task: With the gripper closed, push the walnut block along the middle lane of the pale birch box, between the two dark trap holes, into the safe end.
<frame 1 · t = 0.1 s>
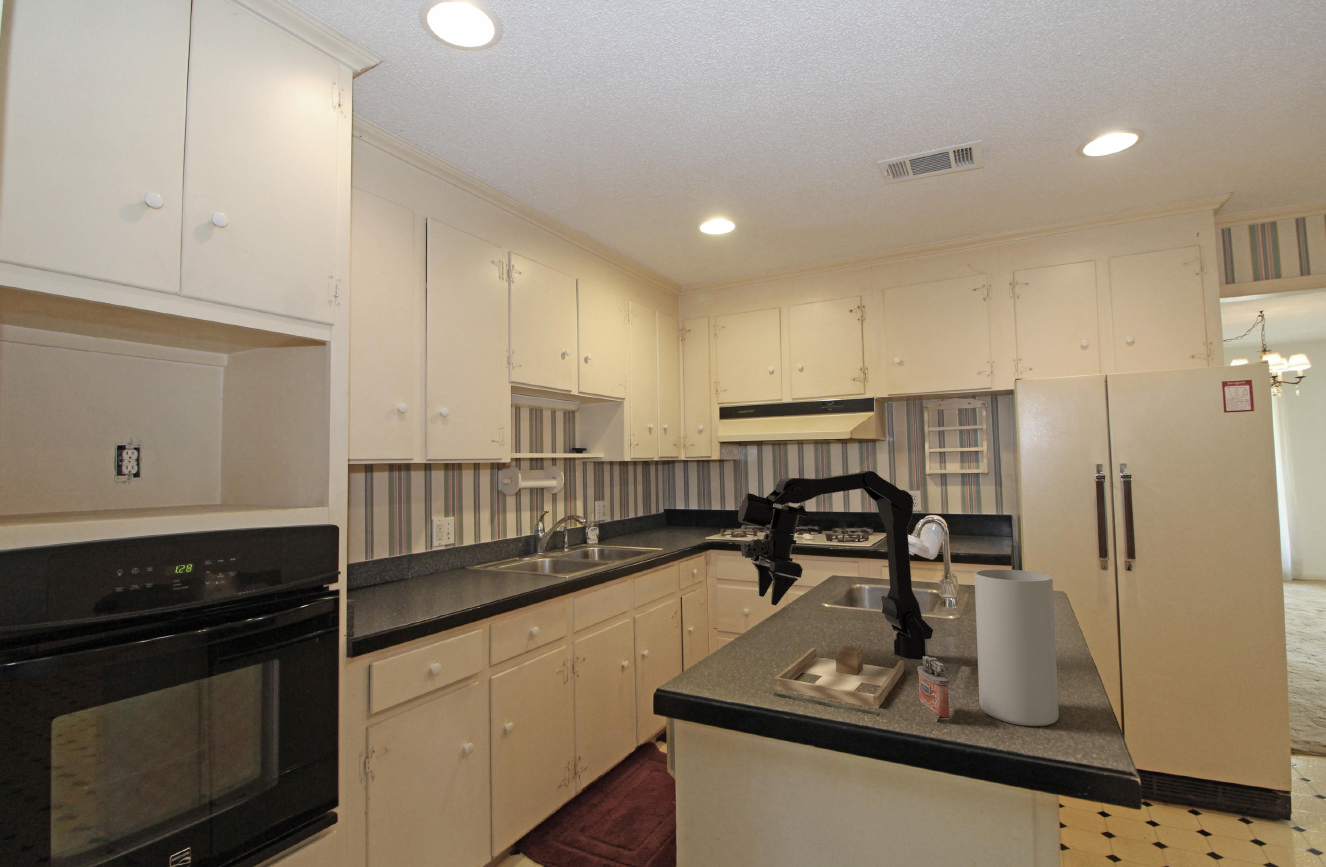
hand: (767, 600, 139), 15 cm above the table, tool pointing down, fingers open, 9 cm apart
lighter: (934, 715, 113), on the table
block: (849, 670, 133), point 1 cm above the table, touching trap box
cylinder vase: (1018, 714, 113), on the table
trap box: (841, 686, 128), on the table
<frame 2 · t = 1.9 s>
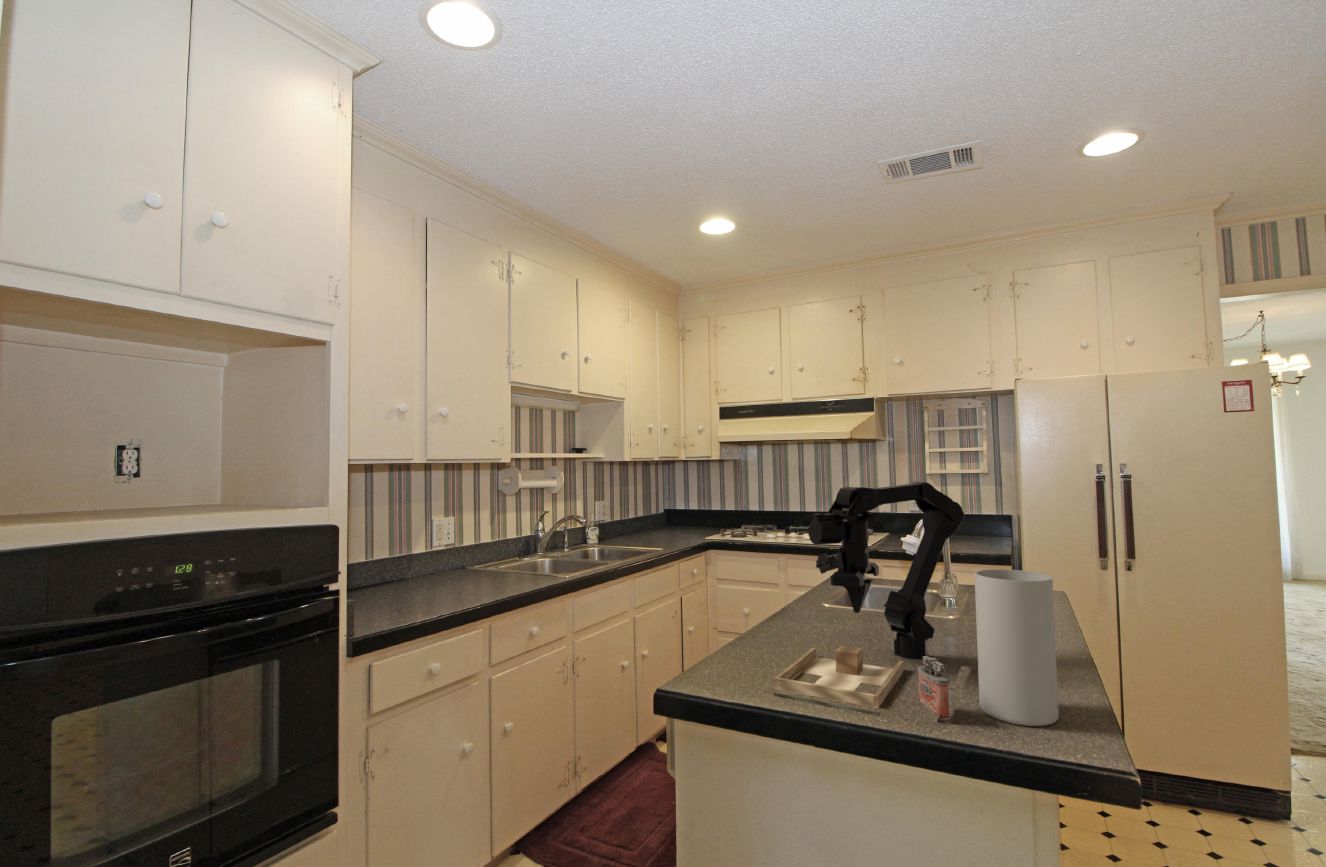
hand: (856, 612, 140), 12 cm above the table, tool pointing down, fingers closed
nothing on the table moved.
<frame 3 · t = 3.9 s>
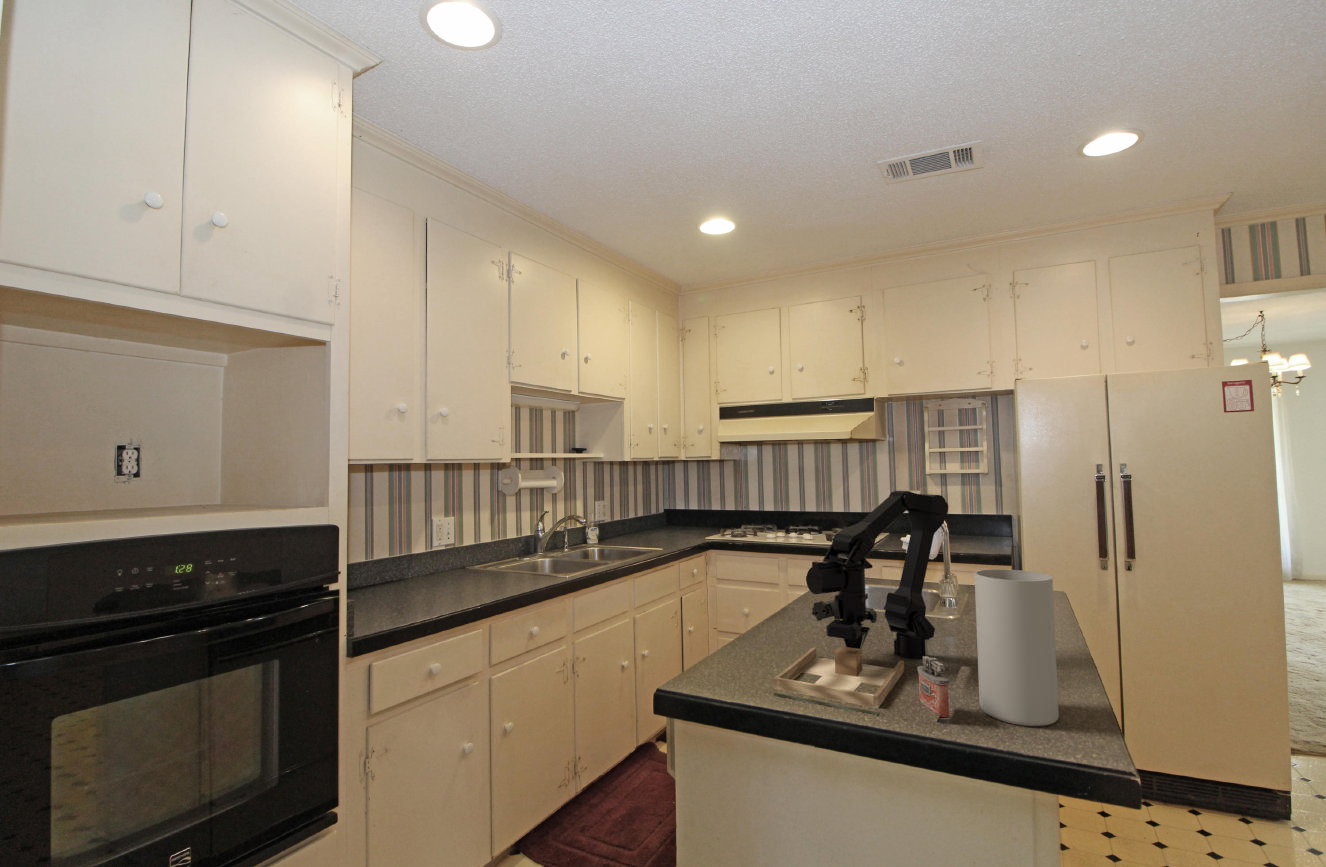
hand: (853, 661, 136), 2 cm above the table, tool pointing down, fingers closed
block: (848, 671, 132), point 2 cm above the table, touching gripper
everything else where it was.
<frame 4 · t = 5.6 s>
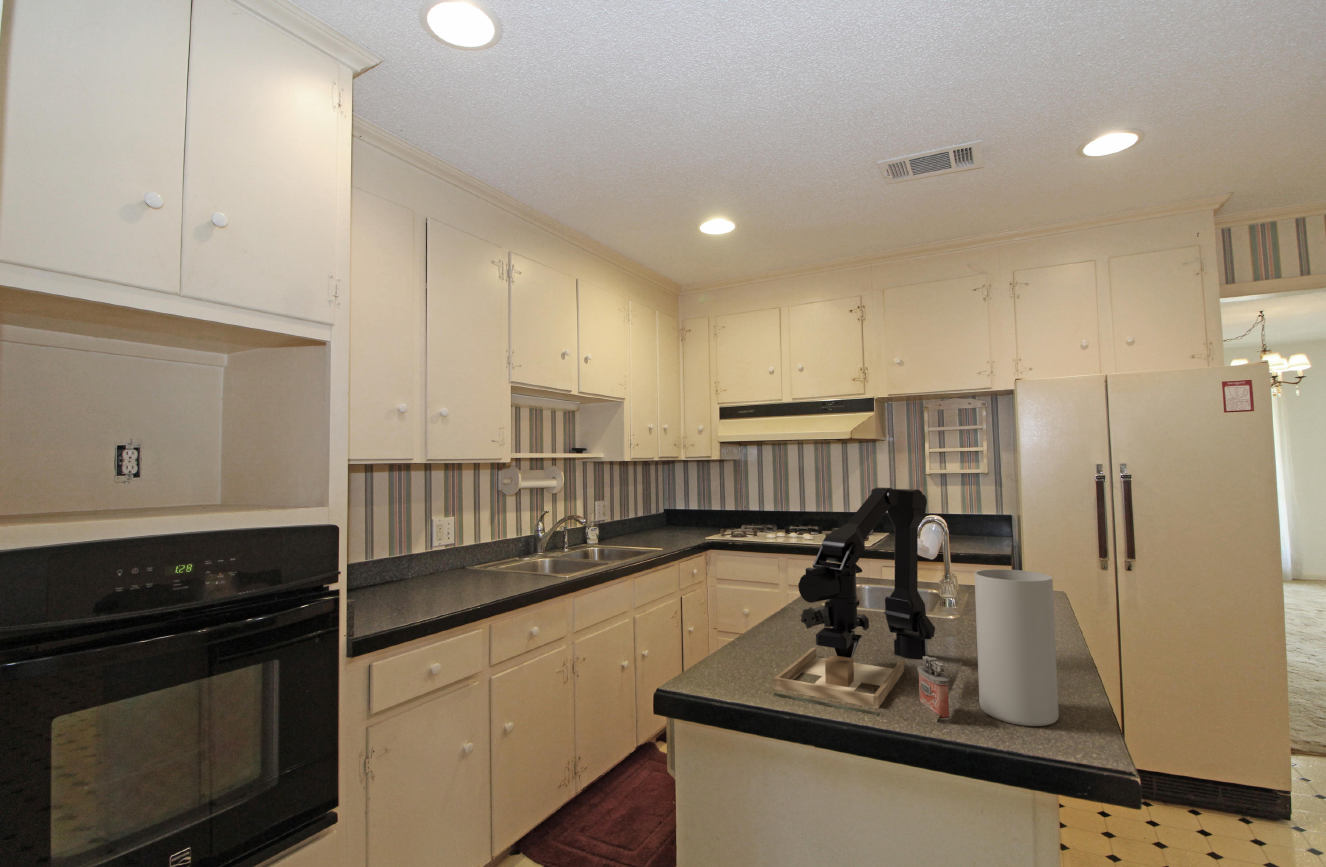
hand: (844, 671, 130), 2 cm above the table, tool pointing down, fingers closed
block: (839, 681, 126), point 2 cm above the table, touching gripper, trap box
everything else where it was.
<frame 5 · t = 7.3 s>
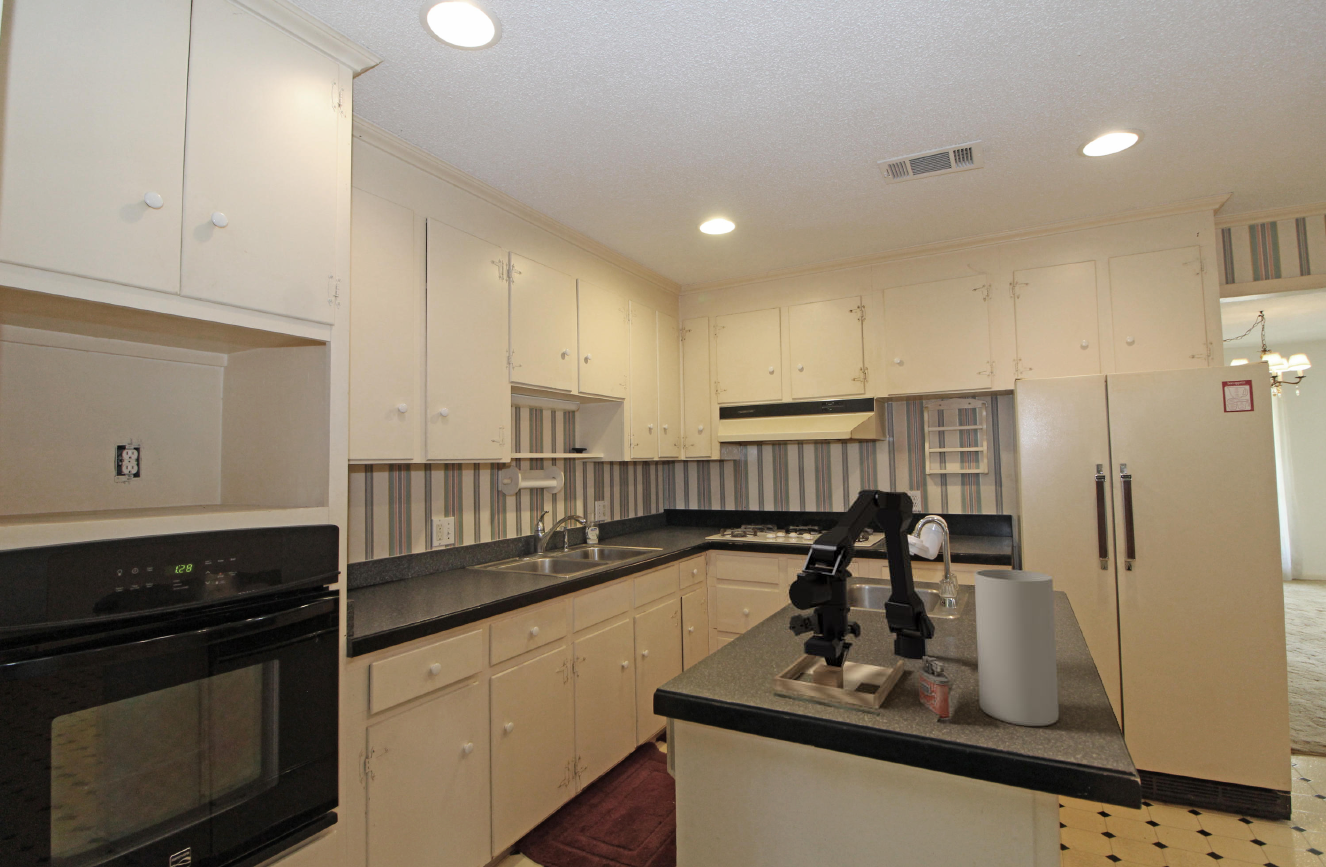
hand: (834, 680, 124), 2 cm above the table, tool pointing down, fingers closed
block: (828, 692, 120), point 1 cm above the table, touching gripper, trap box
everything else where it was.
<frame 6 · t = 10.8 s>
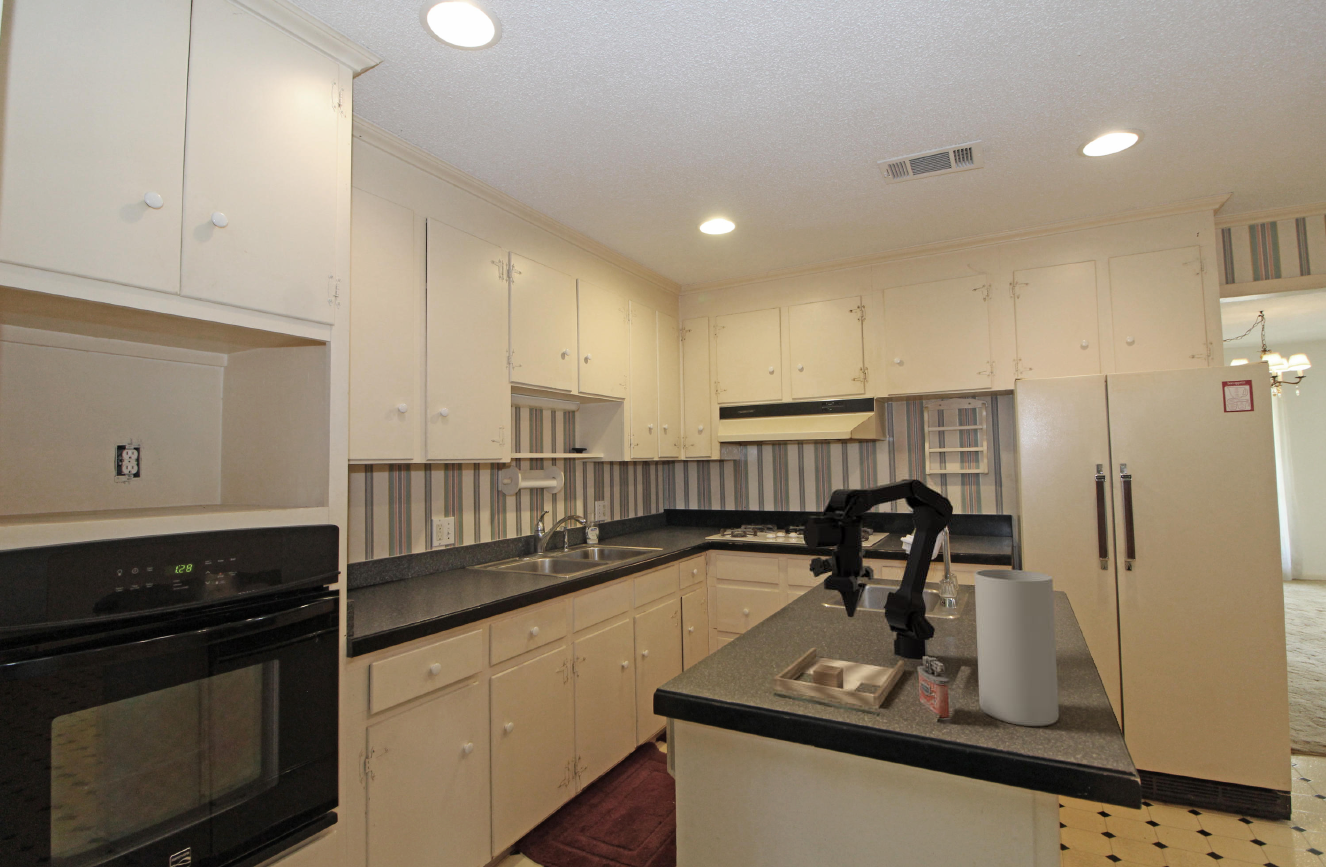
hand: (850, 616, 137), 12 cm above the table, tool pointing down, fingers closed
block: (828, 692, 120), point 1 cm above the table, touching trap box
everything else where it was.
at the end: block inside the target area on the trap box (0.4 cm from its centre), point 1.5 cm above the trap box's base; block tilted 0° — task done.
